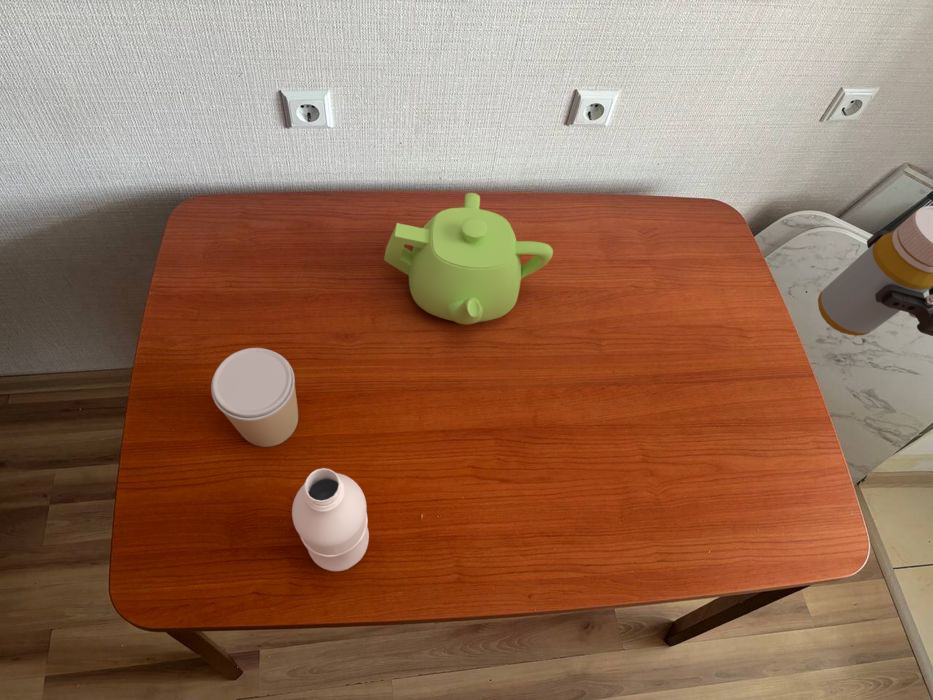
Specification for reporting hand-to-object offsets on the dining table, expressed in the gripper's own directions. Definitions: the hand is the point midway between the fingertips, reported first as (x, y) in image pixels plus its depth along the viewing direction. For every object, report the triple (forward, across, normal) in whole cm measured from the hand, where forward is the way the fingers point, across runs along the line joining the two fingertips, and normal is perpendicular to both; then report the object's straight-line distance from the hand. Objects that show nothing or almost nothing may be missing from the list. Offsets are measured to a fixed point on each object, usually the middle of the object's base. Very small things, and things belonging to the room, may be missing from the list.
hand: (876, 264), depth 63 cm
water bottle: (+49, -36, -32) cm, 69 cm away
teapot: (+43, +4, -32) cm, 54 cm away
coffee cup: (+63, -24, -32) cm, 75 cm away
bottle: (-2, 0, -9) cm, 9 cm away
